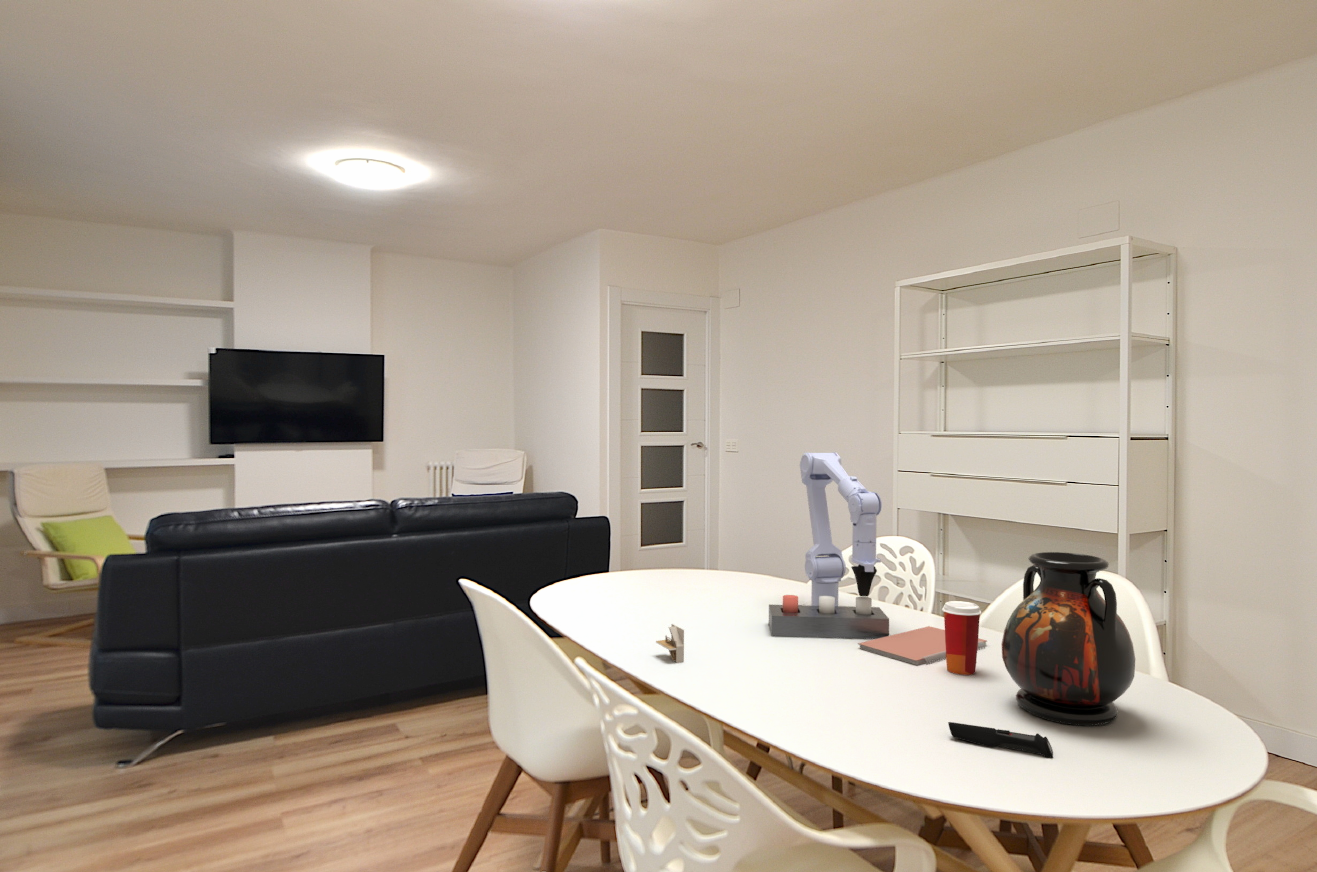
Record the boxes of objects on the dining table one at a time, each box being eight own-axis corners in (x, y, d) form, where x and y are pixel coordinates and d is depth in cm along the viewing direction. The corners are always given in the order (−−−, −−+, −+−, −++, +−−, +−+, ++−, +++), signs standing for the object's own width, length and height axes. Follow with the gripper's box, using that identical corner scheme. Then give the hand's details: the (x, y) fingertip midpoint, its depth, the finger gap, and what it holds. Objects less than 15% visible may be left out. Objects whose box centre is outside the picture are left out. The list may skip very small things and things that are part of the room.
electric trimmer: (949, 735, 132) (949, 716, 132) (1052, 751, 125) (1052, 731, 125) (947, 743, 129) (946, 724, 129) (1053, 761, 122) (1053, 740, 122)
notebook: (920, 669, 168) (920, 660, 168) (857, 650, 181) (857, 642, 181) (991, 648, 184) (991, 640, 184) (928, 632, 197) (928, 624, 197)
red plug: (782, 614, 199) (782, 594, 199) (797, 614, 199) (797, 595, 198) (783, 618, 195) (783, 597, 195) (798, 618, 195) (798, 598, 195)
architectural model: (670, 666, 169) (670, 631, 169) (655, 657, 175) (656, 624, 175) (684, 664, 170) (684, 629, 170) (669, 655, 176) (669, 622, 176)
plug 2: (854, 616, 197) (854, 596, 197) (869, 616, 197) (870, 596, 197) (857, 619, 194) (857, 599, 194) (872, 620, 193) (872, 600, 193)
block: (768, 623, 203) (768, 604, 203) (878, 626, 201) (879, 607, 201) (771, 636, 191) (771, 615, 191) (888, 639, 189) (889, 618, 189)
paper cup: (974, 665, 169) (975, 600, 169) (985, 677, 161) (986, 609, 161) (936, 664, 170) (937, 599, 169) (946, 675, 162) (947, 608, 162)
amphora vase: (975, 698, 149) (977, 551, 148) (1060, 685, 156) (1063, 545, 156) (1071, 741, 129) (1073, 571, 128) (1164, 724, 136) (1167, 563, 136)
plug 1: (818, 615, 198) (818, 595, 198) (833, 615, 198) (833, 595, 198) (820, 619, 194) (820, 598, 194) (835, 619, 194) (835, 599, 194)
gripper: (886, 545, 188) (886, 602, 188) (875, 537, 202) (874, 589, 202) (856, 545, 188) (856, 601, 188) (847, 536, 203) (846, 589, 203)
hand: (863, 595), depth 195 cm, fingers closed
